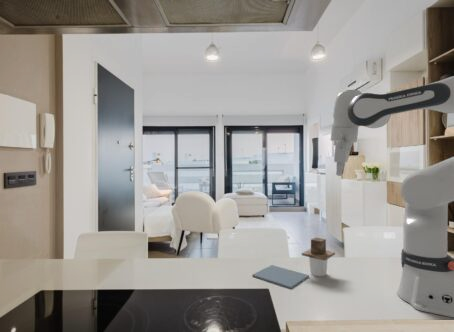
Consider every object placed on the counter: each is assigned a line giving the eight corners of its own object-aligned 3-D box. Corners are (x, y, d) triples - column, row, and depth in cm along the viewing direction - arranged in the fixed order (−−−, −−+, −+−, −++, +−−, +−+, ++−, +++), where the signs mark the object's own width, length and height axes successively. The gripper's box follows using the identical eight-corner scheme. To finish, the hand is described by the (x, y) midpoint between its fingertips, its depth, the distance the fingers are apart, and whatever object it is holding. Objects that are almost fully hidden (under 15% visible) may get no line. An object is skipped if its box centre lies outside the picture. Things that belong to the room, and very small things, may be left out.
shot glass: (305, 271, 111) (304, 253, 110) (318, 268, 114) (318, 250, 113) (317, 278, 104) (317, 258, 104) (332, 274, 107) (332, 256, 107)
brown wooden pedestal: (335, 254, 109) (334, 239, 109) (325, 260, 102) (324, 244, 102) (312, 249, 115) (312, 235, 115) (301, 255, 108) (301, 239, 108)
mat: (309, 276, 106) (309, 275, 106) (291, 288, 96) (291, 287, 96) (272, 266, 116) (272, 265, 116) (252, 276, 107) (252, 274, 107)
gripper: (352, 135, 93) (348, 177, 94) (354, 138, 112) (350, 174, 113) (332, 134, 96) (327, 175, 97) (336, 137, 115) (332, 172, 116)
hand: (339, 174), depth 105 cm, fingers open, 8 cm apart
